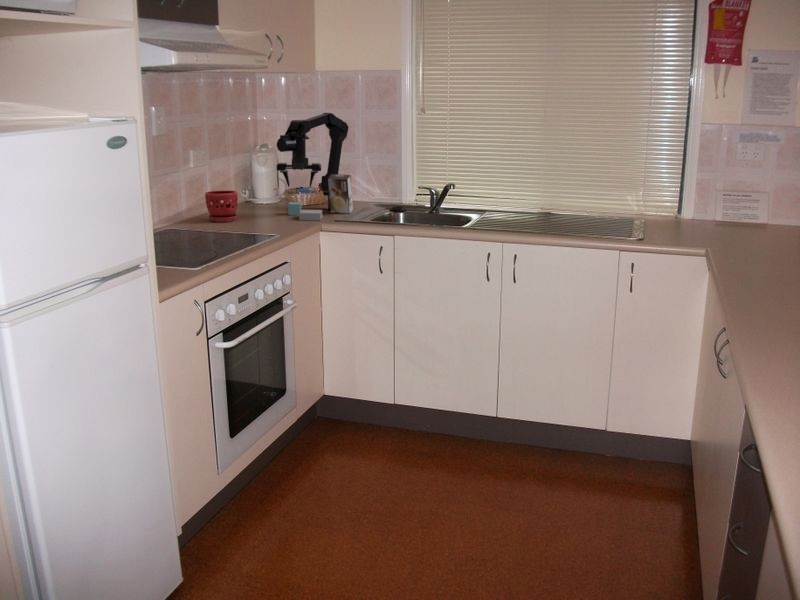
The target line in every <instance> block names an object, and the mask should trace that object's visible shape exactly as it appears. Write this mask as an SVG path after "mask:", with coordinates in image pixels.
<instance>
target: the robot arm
mask: <svg viewBox="0 0 800 600" xmlns="http://www.w3.org/2000/svg"><path fill="white" fill-rule="evenodd" d="M322 125H324V126H325V127H326V128H327V129H328V136H329V138H330V140H331V142H330V147H329V148H330V150H329V155H328V163H327V172H326V174H325V175H322V176H321V181H320V182H321V183H320V186H321V190H322V194H323V196H326V197H327V207H326V209H327V210H326V211H331V209H330V196H329V184H328V179H329V177H330V175H331V174H337V175H339V172H340V164H341V163H340V162H341V155H342V148H343V147H342V146H343V142H344V141H345V139H346V138H347V135H348V132H349V125H348V123H347V122H345V121H344V120H343V119H341V118H339V117H337V116H336V115H335V114H334V113H332V112H323V113H321V114H317V115H315V116H312V117H309V118H305V119H293V120H291V121H290V122H289V125H288V128H287V129H286V131H285V133H284V134H280V135H279V138H278V139H277V141H276V148H277V150H278V151H279V152H281V153H286V152H291V158H292V159H291V164H288V163H287V162H278V163H277V164H276V171H279V173H281V174H282V175H283V177H284V179H285V182H286V185H287V188H290V178H289V177H290V176H289V170H300V171H302V170H311V171H310V178H309V188H312V183H313V182H314V181H313V180H314V177H315V175H316V174H318V173H319V172H321V171H322V164H321V163H320V162H312V163H311V164H309V157H307V156H306V153H307V152H306V151H307V150H306V147H307V146H306V143H307V142H306V140H309V139H310V137H309V136H308V135H307V133H309V132H311V130H312V129H315V128H317V127H319V126H322Z"/></svg>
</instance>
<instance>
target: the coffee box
mask: <svg viewBox="0 0 800 600" xmlns="http://www.w3.org/2000/svg"><path fill="white" fill-rule="evenodd" d="M351 176H352V175H351V174H338V175H337V174H331V175H330V177H329V179H328V184H329V196H330V209H331V210H330V213H331V212H337V213H336V214H348V213H350V212H351V213H352V212H353V210H354V205H353V193H352V191H353V190H352V177H351ZM338 212H339V213H338ZM351 213H350V214H351Z"/></svg>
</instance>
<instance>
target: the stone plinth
mask: <svg viewBox="0 0 800 600" xmlns="http://www.w3.org/2000/svg"><path fill="white" fill-rule="evenodd" d="M321 218H323V209H301V211H300V213H299V215H298V220H299V221H318V220H322V219H321Z"/></svg>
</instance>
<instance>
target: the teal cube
mask: <svg viewBox="0 0 800 600" xmlns="http://www.w3.org/2000/svg"><path fill="white" fill-rule="evenodd" d="M287 205H288V209H287V211H288V216H299V213H300V211H301V210H302V202H299V201H298V202H292V201H291V202H288V204H287Z"/></svg>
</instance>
